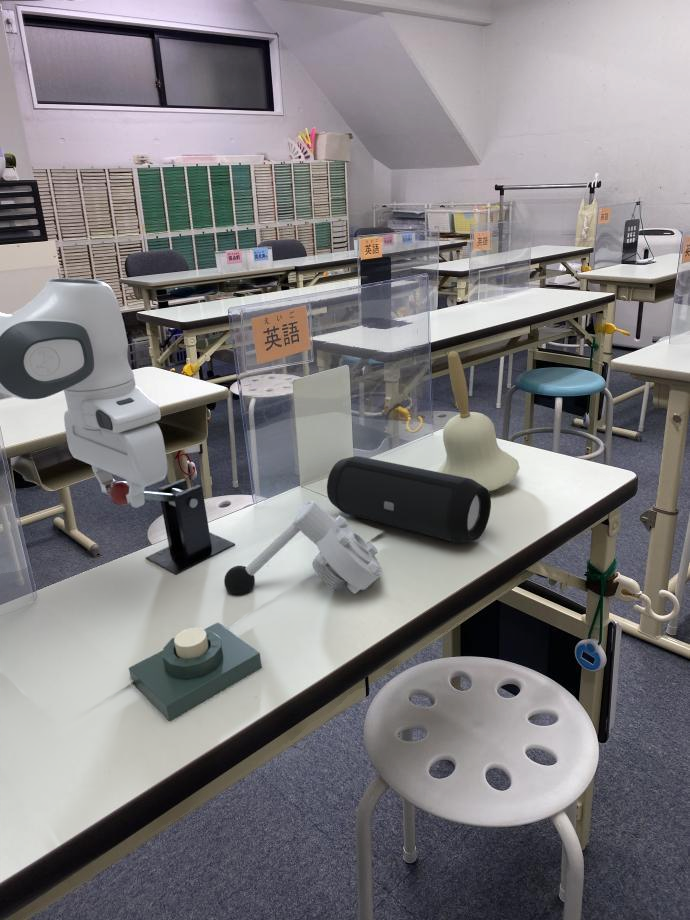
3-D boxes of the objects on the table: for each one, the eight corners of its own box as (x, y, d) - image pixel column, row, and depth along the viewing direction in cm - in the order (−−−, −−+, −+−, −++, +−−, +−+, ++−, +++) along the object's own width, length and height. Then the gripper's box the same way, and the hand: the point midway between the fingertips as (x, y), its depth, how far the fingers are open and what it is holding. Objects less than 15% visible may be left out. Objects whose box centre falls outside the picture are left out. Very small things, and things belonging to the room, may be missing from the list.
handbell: (536, 483, 119) (514, 346, 109) (455, 512, 117) (426, 375, 107) (497, 453, 133) (475, 330, 123) (425, 478, 131) (396, 355, 121)
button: (186, 664, 75) (184, 651, 75) (170, 650, 78) (168, 637, 77) (214, 649, 78) (212, 636, 77) (198, 636, 80) (195, 623, 79)
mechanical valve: (390, 582, 89) (308, 507, 86) (295, 668, 92) (212, 599, 89) (383, 550, 99) (309, 481, 96) (297, 628, 102) (222, 564, 99)
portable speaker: (325, 520, 114) (321, 465, 110) (360, 498, 121) (356, 445, 118) (463, 558, 99) (463, 496, 96) (493, 530, 107) (494, 471, 103)
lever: (115, 507, 92) (120, 483, 92) (102, 501, 94) (107, 477, 94) (193, 512, 102) (198, 490, 102) (180, 507, 104) (185, 485, 104)
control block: (169, 722, 72) (163, 692, 71) (131, 683, 79) (125, 654, 77) (262, 668, 79) (258, 639, 78) (220, 636, 86) (216, 609, 84)
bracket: (176, 580, 99) (163, 507, 95) (147, 564, 104) (132, 493, 100) (236, 550, 107) (226, 480, 102) (205, 536, 112) (194, 469, 108)
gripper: (44, 398, 94) (66, 489, 99) (122, 422, 81) (142, 527, 86) (87, 387, 98) (106, 475, 103) (167, 408, 85) (184, 509, 90)
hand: (123, 499), depth 95 cm, fingers open, 5 cm apart
